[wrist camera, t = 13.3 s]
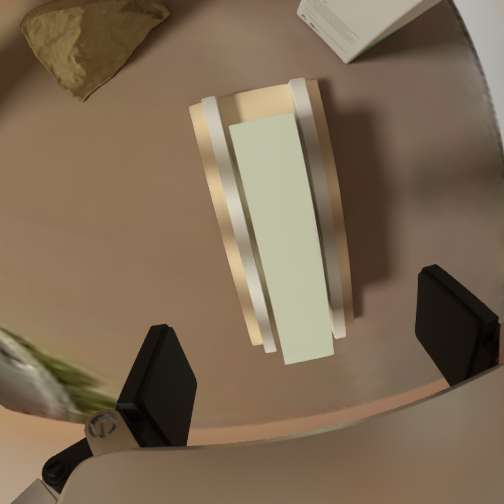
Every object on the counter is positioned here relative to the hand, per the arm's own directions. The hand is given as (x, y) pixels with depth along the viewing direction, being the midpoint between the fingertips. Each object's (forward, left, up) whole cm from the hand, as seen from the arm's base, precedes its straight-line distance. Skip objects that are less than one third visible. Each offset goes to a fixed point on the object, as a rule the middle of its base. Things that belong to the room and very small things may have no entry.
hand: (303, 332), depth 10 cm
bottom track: (0, 0, -16) cm, 16 cm away
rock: (-19, -10, -16) cm, 26 cm away
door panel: (0, 0, -15) cm, 15 cm away
